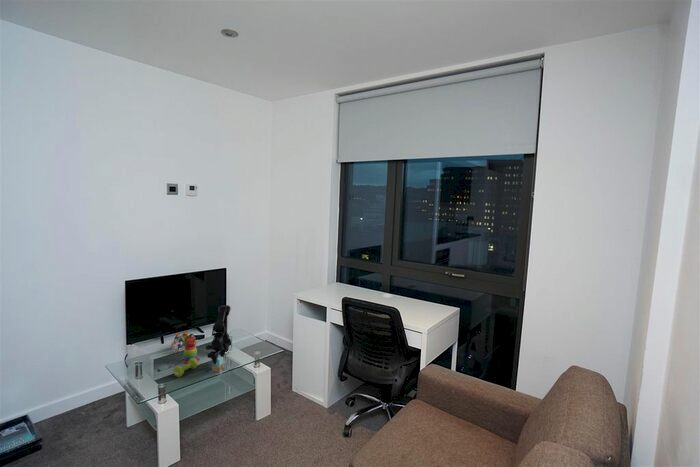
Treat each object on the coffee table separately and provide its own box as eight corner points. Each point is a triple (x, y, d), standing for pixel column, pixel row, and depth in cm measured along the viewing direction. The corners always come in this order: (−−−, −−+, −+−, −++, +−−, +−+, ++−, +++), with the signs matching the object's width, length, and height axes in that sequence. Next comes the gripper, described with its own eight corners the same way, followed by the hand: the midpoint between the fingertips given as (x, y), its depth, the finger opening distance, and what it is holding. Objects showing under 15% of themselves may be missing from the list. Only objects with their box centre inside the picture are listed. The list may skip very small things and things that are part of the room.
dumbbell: (191, 365, 258) (191, 356, 257) (199, 368, 255) (199, 358, 254) (171, 376, 243) (171, 366, 242) (180, 379, 240) (180, 369, 239)
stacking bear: (192, 365, 258) (192, 342, 255) (179, 363, 260) (179, 340, 257) (201, 358, 268) (201, 336, 266) (189, 356, 270) (189, 334, 268)
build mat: (215, 366, 259) (215, 365, 259) (228, 368, 258) (228, 367, 258) (207, 373, 250) (207, 372, 250) (220, 375, 248) (220, 374, 248)
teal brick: (216, 361, 256) (216, 356, 255) (223, 362, 255) (223, 357, 254) (213, 365, 251) (213, 359, 250) (219, 366, 250) (219, 360, 250)
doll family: (172, 355, 270) (172, 339, 269) (164, 351, 275) (164, 335, 273) (196, 345, 289) (196, 330, 287) (188, 342, 293) (189, 327, 292)
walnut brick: (216, 367, 257) (216, 361, 256) (224, 368, 256) (224, 362, 255) (211, 371, 251) (212, 365, 251) (219, 372, 250) (219, 366, 250)
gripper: (215, 334, 261) (215, 353, 263) (200, 344, 243) (200, 366, 245) (229, 336, 259) (228, 356, 261) (215, 347, 241) (214, 368, 243)
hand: (218, 361), depth 253 cm, fingers open, 9 cm apart
